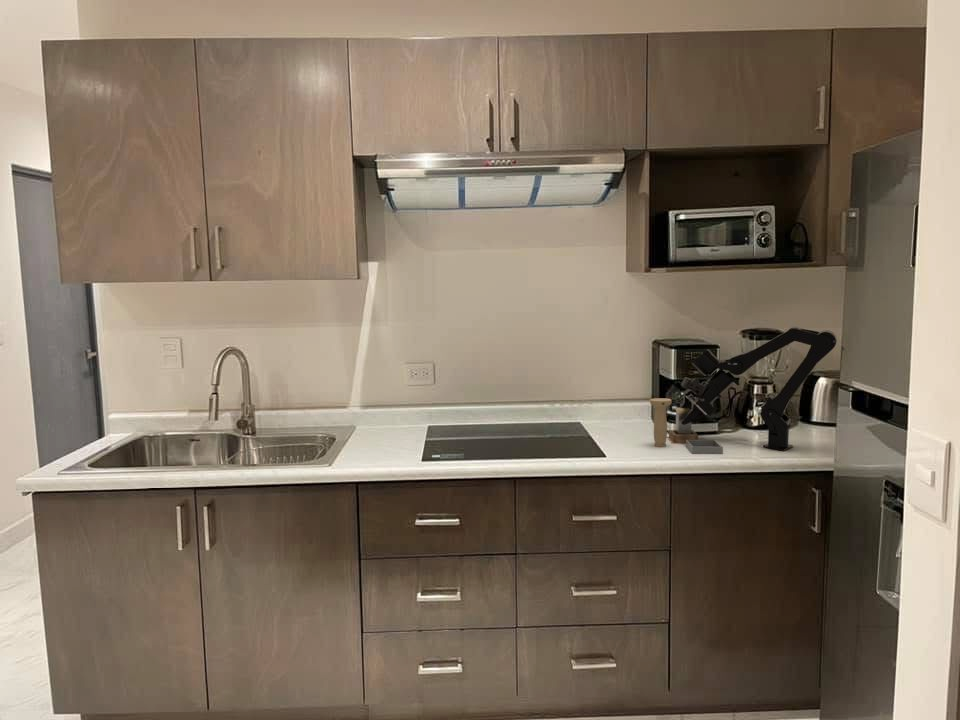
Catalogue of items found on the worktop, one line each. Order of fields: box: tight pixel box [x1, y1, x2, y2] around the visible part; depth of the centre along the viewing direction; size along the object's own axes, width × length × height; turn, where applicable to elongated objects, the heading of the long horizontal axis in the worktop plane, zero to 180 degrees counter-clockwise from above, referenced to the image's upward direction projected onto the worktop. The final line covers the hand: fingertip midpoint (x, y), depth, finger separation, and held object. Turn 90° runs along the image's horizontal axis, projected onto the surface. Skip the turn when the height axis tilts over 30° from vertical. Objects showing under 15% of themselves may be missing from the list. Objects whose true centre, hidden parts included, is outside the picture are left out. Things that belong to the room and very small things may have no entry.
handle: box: [649, 397, 672, 448], centre depth 207 cm, size 5×6×15 cm
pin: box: [675, 407, 692, 435], centre depth 213 cm, size 4×4×10 cm
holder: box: [666, 429, 699, 445], centre depth 214 cm, size 9×9×3 cm
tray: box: [685, 439, 724, 455], centre depth 202 cm, size 9×9×2 cm
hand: (679, 420), depth 213 cm, fingers open, 9 cm apart
